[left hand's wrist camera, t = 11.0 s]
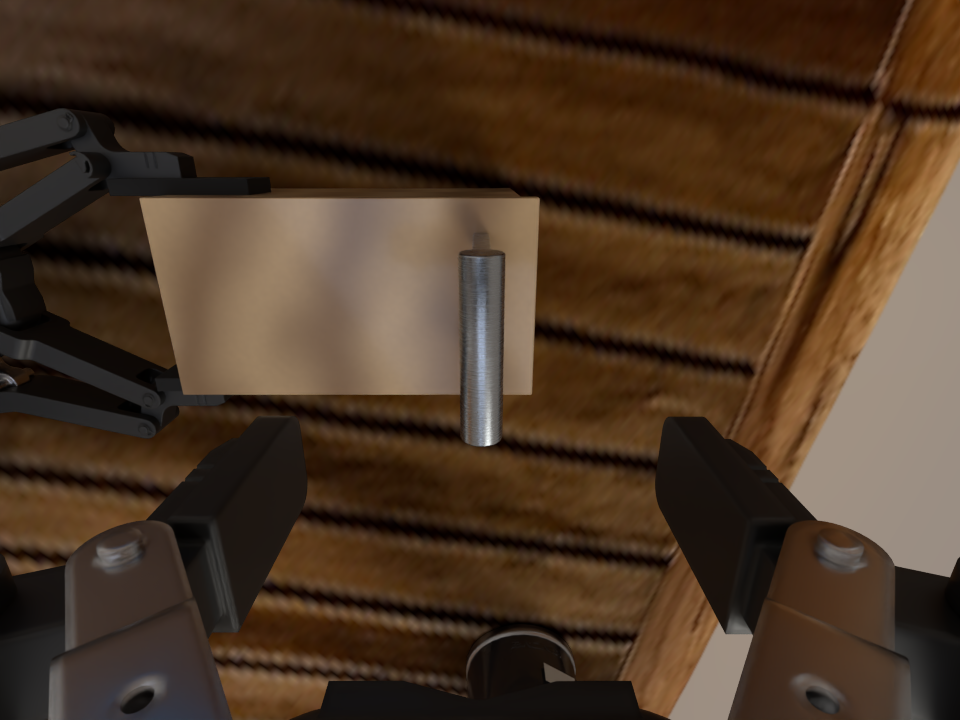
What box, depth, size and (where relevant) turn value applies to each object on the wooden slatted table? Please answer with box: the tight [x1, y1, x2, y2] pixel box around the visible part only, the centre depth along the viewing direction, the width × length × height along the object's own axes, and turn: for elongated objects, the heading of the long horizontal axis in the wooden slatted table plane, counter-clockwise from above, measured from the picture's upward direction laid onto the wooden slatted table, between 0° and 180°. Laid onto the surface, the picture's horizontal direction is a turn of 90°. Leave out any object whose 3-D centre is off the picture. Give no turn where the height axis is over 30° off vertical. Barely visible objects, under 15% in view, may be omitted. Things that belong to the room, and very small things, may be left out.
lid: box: [140, 197, 540, 447], centre depth 21 cm, size 17×9×8 cm, turn 90°
